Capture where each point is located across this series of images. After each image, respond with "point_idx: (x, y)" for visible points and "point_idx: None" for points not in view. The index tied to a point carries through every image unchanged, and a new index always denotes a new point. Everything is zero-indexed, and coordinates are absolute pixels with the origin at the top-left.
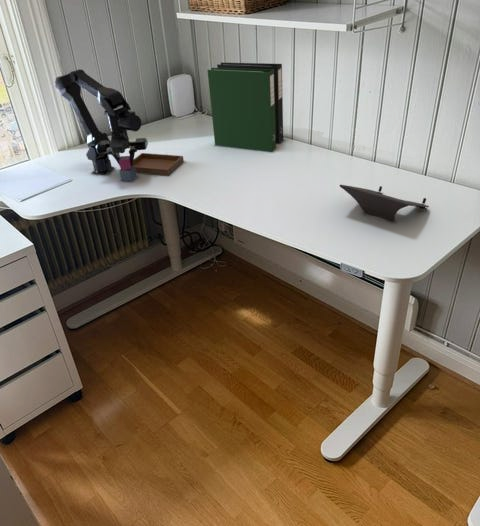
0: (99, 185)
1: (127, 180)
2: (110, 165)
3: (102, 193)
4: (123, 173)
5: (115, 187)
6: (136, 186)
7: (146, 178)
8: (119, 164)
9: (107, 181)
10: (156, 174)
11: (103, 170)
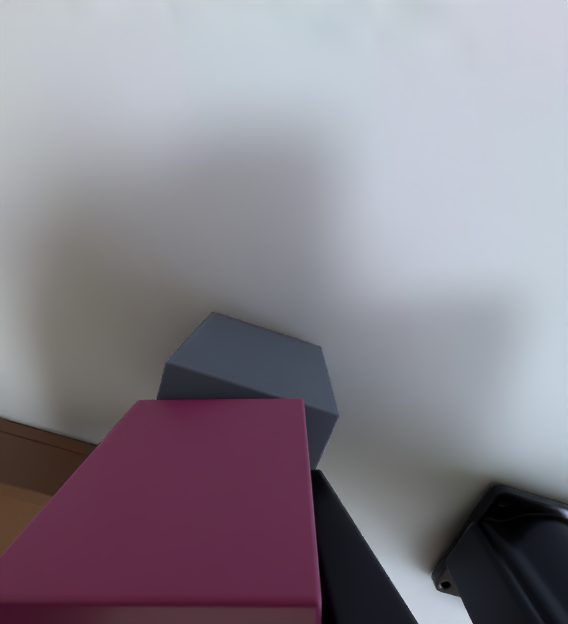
0: (543, 265)
1: (253, 327)
2: (473, 598)
3: (498, 22)
4: (278, 371)
5: (357, 188)
6: (120, 183)
7: (81, 362)
8: (331, 507)
9: (463, 348)
10: (9, 423)
11: (529, 533)
